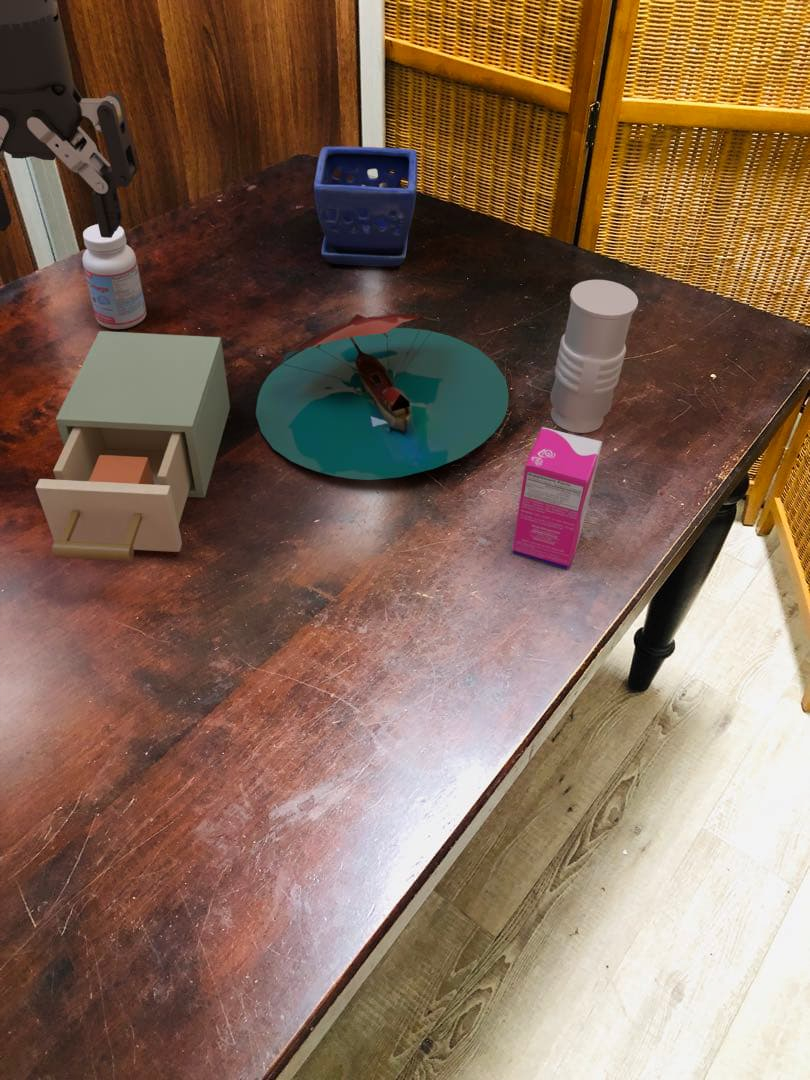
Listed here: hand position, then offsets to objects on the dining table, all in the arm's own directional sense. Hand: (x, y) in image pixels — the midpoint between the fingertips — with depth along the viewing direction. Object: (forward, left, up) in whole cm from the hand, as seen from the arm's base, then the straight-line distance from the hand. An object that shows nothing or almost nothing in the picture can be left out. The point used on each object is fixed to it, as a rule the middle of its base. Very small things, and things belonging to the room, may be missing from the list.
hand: (56, 230), depth 71 cm
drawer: (+3, -7, -25) cm, 26 cm away
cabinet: (+3, +4, -26) cm, 26 cm away
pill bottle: (-7, +28, -26) cm, 39 cm away
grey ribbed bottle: (+48, +13, -26) cm, 56 cm away
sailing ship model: (+26, +13, -26) cm, 39 cm away
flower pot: (+22, +48, -26) cm, 59 cm away
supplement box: (+43, -7, -26) cm, 51 cm away
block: (+3, -7, -24) cm, 25 cm away
